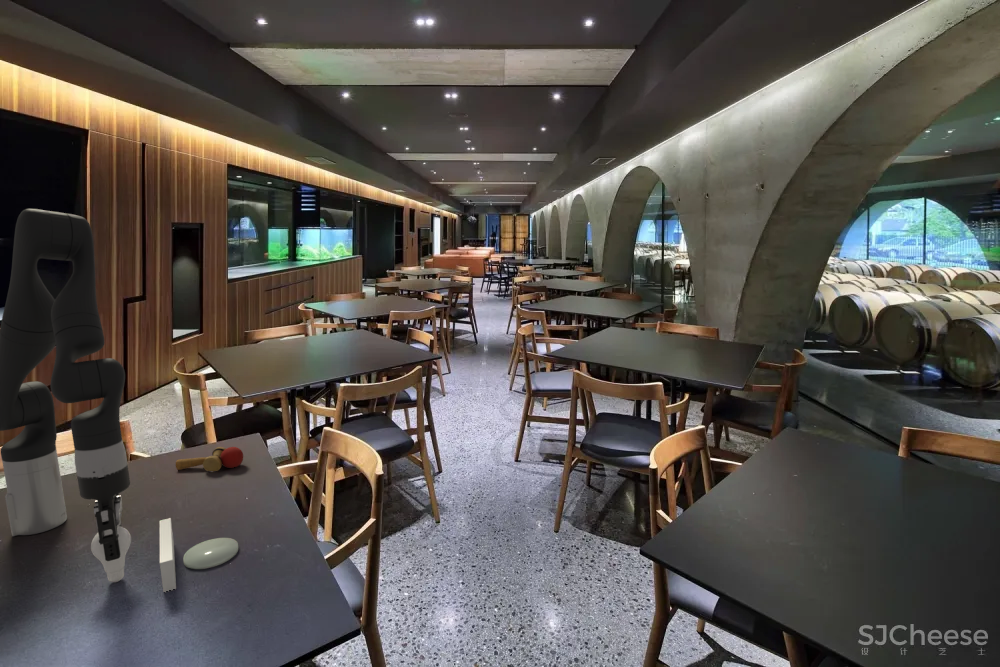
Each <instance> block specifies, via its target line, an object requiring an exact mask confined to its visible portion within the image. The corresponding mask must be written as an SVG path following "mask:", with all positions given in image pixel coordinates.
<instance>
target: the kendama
mask: <svg viewBox="0 0 1000 667" xmlns="http://www.w3.org/2000/svg"><path fill="white" fill-rule="evenodd" d="M211 453H212V454H211V455H209V456H207V457H204V456H203V457H202V456H200V457H194V458H193V457H191V458H182V459H181V458H180V459H177V460H176V461H175V468H176V470H178V471H181V470H184V469H185V470H186V469H189V468H193V467H198V466H202V467H203V469H204V470H205V471H207V472H208V471H217V472H218V471H220V469H221V468H222V466H223V467H225V468H228V469H234V467H235V468H237V467H239V466H240V465H241V464H242V463H243V460H244V453H243V451H242V449H240V448H239V447H237V446H230V447H227V448H226V447H223V446H218V447H216V448H215V449H213V450H212V452H211Z"/></svg>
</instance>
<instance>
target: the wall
mask: <svg viewBox="0 0 1000 667" xmlns="http://www.w3.org/2000/svg"><path fill="white" fill-rule="evenodd" d="M175 556H176V555H175V542H174V534H173V526H172V518H171V517H169V518H166V519H162V520H159V568H160V569H159V570H160V575H161V576H160V577H161V583H162V584H161V585H162V590H163V592H165V593H167V592H166V591H168V592H170V591H169V590H171V591H174V590H173V589H175V590H177V581H176V576H177V575H176V562H175V561H176V558H175Z"/></svg>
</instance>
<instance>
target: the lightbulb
mask: <svg viewBox="0 0 1000 667" xmlns="http://www.w3.org/2000/svg"><path fill="white" fill-rule="evenodd" d="M109 534H113V532H112V530H111V529H109V530H105V535H109ZM118 534H119V537H118V541H119V547H120V558H118V559H115V560H111V561H106V560H105V554H104V547H103V544H101V545H100V543H99V534H98V532H97V533H96V534H95V535H94V537H93V538H92V540H91V544H90V550H91V553H92V554H93V556H94V557H95V558H96V559H97V560H99V562H100V563H101V564H102V566H103V569H104V572H105V573H106V577H107V581H108V582H109V583H118V582H119V581H120V580H122V579H123V578H124V577H125V566H126V562H125V561H126V556H127V555H126V554H127V553H128V551H129V548H130V546H131V543H132V535H131V534H130V531H129V530H128V529H127V528H125V527H124V526H122V527H121V526H119V527H118Z"/></svg>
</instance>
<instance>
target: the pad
mask: <svg viewBox="0 0 1000 667" xmlns="http://www.w3.org/2000/svg"><path fill="white" fill-rule="evenodd" d="M238 551H239V543H238V541H237V540H236V539H234V538H230V537H218V538H217V537H216V538H212V539H208V540H204V541H202V542H199V543H197V544H195V545H194V546H191V547H190V548H189V549H188V550H187V551H186V552H185V553H184V555H183V565H184V567H186V568H188V569H191V570H205V569H209V568H214V567H217V566H220V565H222V564H224V563H226V562H228V561H230V560H231V559H233V558H234V557H235V556H236V555H237V553H238Z"/></svg>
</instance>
